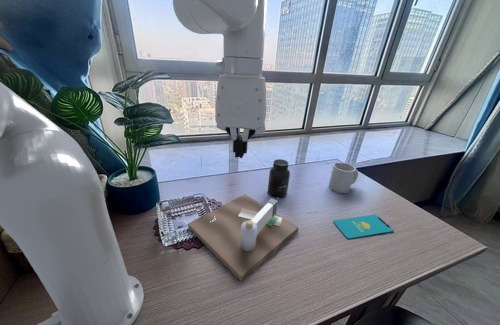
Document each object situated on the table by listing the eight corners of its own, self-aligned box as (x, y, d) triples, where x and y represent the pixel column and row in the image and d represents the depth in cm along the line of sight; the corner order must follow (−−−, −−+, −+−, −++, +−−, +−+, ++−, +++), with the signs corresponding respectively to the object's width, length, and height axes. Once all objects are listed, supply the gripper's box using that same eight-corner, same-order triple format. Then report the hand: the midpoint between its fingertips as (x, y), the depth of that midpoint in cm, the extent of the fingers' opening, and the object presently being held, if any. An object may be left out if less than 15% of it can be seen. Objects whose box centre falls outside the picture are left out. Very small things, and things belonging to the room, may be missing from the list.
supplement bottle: (282, 201, 70) (286, 168, 65) (264, 194, 73) (266, 163, 68) (290, 191, 75) (294, 161, 70) (272, 185, 78) (275, 156, 73)
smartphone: (332, 220, 62) (375, 213, 65) (331, 222, 62) (375, 215, 65) (347, 239, 55) (395, 231, 59) (347, 241, 56) (394, 233, 59)
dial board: (240, 281, 44) (240, 275, 43) (188, 227, 57) (187, 222, 56) (297, 231, 58) (298, 226, 57) (244, 197, 71) (244, 193, 70)
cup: (325, 183, 81) (329, 162, 77) (348, 181, 83) (353, 161, 79) (335, 194, 75) (341, 172, 71) (360, 192, 77) (367, 170, 73)
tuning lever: (250, 254, 48) (251, 230, 45) (237, 247, 50) (238, 224, 47) (278, 219, 59) (280, 198, 56) (266, 214, 61) (268, 194, 58)
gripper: (198, 66, 39) (202, 158, 46) (280, 71, 37) (270, 166, 44) (212, 66, 45) (214, 146, 53) (282, 70, 43) (273, 153, 51)
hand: (239, 155), depth 49 cm, fingers closed
